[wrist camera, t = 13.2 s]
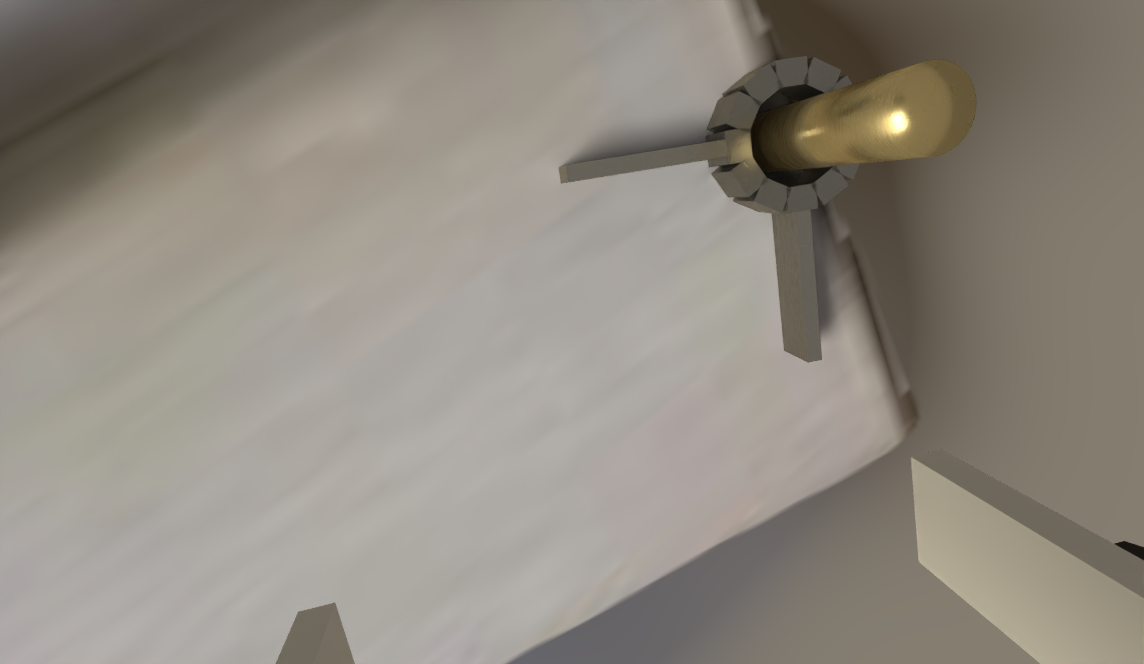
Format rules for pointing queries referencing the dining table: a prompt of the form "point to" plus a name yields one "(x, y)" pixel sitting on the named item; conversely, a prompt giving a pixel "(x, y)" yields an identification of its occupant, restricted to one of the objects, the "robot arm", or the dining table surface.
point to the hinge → (760, 183)
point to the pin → (870, 120)
